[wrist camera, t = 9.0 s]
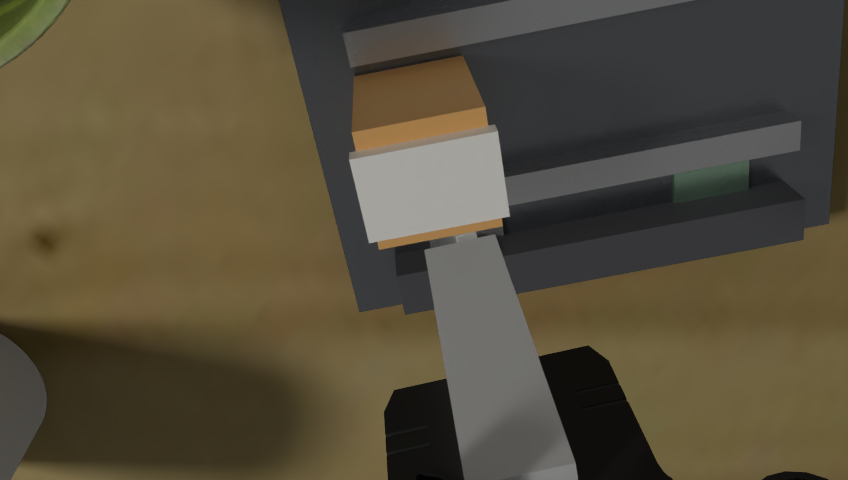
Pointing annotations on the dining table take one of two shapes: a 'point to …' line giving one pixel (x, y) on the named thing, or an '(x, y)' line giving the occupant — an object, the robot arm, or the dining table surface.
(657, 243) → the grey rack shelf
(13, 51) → the plant pot
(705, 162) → the panel
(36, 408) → the white cylinder
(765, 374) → the dining table surface
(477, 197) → the orange white block
